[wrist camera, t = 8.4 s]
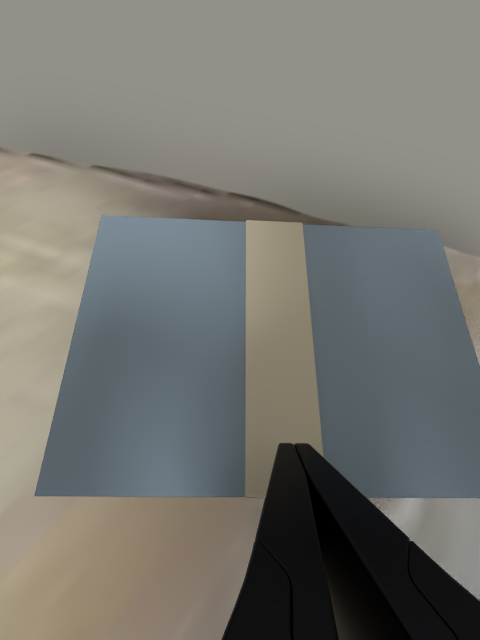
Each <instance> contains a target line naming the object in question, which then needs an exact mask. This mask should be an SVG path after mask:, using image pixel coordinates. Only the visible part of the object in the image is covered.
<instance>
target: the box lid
mask: <svg viewBox="0 0 480 640" xmlns="http://www.w3.org/2000/svg"><path fill="white" fill-rule="evenodd" d="M279 443H292V444H295V443H308V444H310V445H311V446H312V447H313V448H314V449H315V450H316V451H317V452H318V453H319V454H321V455H322V456H323V457H324V458H325V459H326V460H327V461H328V462H329V463H330V464H331V465H332V466H333V467H334V468H335V469H336V470H338V471H339V472H340V473H341V474H342V475H343V476H344V477H345V478H346V479H347V480H348V481H349V482H350V483H351V484H352V485H353V486H355V487H356V488H357V489H358V490H359V491H360V492H361V493H362V494H363V495H364V496H365V497H366V498H480V366H479V363H478V360H477V357H476V353H475V350H474V347H473V343H472V340H471V337H470V334H469V330H468V327H467V324H466V321H465V317H464V314H463V311H462V308H461V304H460V301H459V298H458V294H457V291H456V288H455V285H454V281H453V278H452V275H451V272H450V268H449V265H448V262H447V259H446V255H445V252H444V249H443V245H442V242H441V239H440V236H439V232H438V230H417V229H395V228H372V227H351V226H329V225H307V224H303V223H299V222H277V221H254V220H246V222H240V221H218V220H196V219H173V218H151V217H129V216H107V215H102V216H101V220H100V224H99V229H98V233H97V237H96V241H95V245H94V249H93V254H92V258H91V262H90V266H89V270H88V274H87V279H86V283H85V287H84V291H83V295H82V300H81V304H80V308H79V312H78V316H77V320H76V325H75V329H74V333H73V337H72V341H71V345H70V350H69V354H68V358H67V362H66V366H65V370H64V375H63V379H62V383H61V387H60V391H59V396H58V400H57V404H56V408H55V412H54V416H53V421H52V425H51V429H50V433H49V437H48V441H47V446H46V450H45V454H44V458H43V462H42V466H41V471H40V475H39V479H38V483H37V487H36V492H35V496H120V497H259V498H265V497H266V493H267V489H268V485H269V481H270V477H271V472H272V468H273V464H274V460H275V456H276V452H277V448H278V444H279Z"/></svg>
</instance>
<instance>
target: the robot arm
mask: <svg viewBox="0 0 480 640" xmlns="http://www.w3.org/2000/svg"><path fill="white" fill-rule="evenodd" d="M222 640H480V601H479V600H478V599H477V598H476V597H475V596H473V595H472V594H471V593H470V592H469V591H468V590H466V589H465V588H464V587H463V586H462V585H460V584H459V583H458V582H457V581H456V580H455V579H453V578H452V577H451V576H450V575H449V574H448V573H447V572H446V571H444V570H443V569H442V568H441V567H440V566H439V565H438V564H437V563H436V562H435V561H433V560H432V559H431V558H430V557H429V556H428V555H427V554H426V553H425V552H424V551H423V550H422V549H420V548H419V547H418V546H417V545H416V544H415V543H414V542H413V541H410V539H409V537H408V536H407V535H405V534H404V533H403V532H402V531H401V530H400V529H399V528H398V527H397V526H396V525H395V524H394V523H393V522H392V521H391V520H390V519H388V518H387V517H386V516H385V515H384V514H383V513H382V512H381V511H380V510H379V509H378V508H377V507H376V506H375V505H374V504H373V503H371V502H370V501H369V500H368V499H367V498H366V497H365V496H364V495H363V494H362V493H361V492H360V491H359V490H358V489H357V488H356V487H355V486H353V485H352V484H351V483H350V482H349V481H348V480H347V479H346V478H345V477H344V476H343V475H342V474H341V473H340V472H339V471H338V470H336V469H335V468H334V467H333V466H332V465H331V464H330V463H329V462H328V461H327V460H326V459H325V458H324V457H323V456H322V455H321V454H319V453H318V452H317V451H316V450H315V449H314V448H313V447H312V446H311V445H310V444H308V443H295V444H292V443H279V444H278V448H277V452H276V456H275V460H274V464H273V468H272V472H271V477H270V481H269V485H268V489H267V493H266V497H265V501H264V505H263V509H262V513H261V518H260V522H259V526H258V530H257V534H256V538H255V542H254V545H253V549H252V554H251V558H250V561H249V565H248V568H247V572H246V575H245V579H244V582H243V585H242V587H241V590H240V593H239V596H238V599H237V601H236V604H235V607H234V609H233V612H232V614H231V617H230V619H229V622H228V624H227V627H226V630H225V632H224V635H223V637H222Z"/></svg>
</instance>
